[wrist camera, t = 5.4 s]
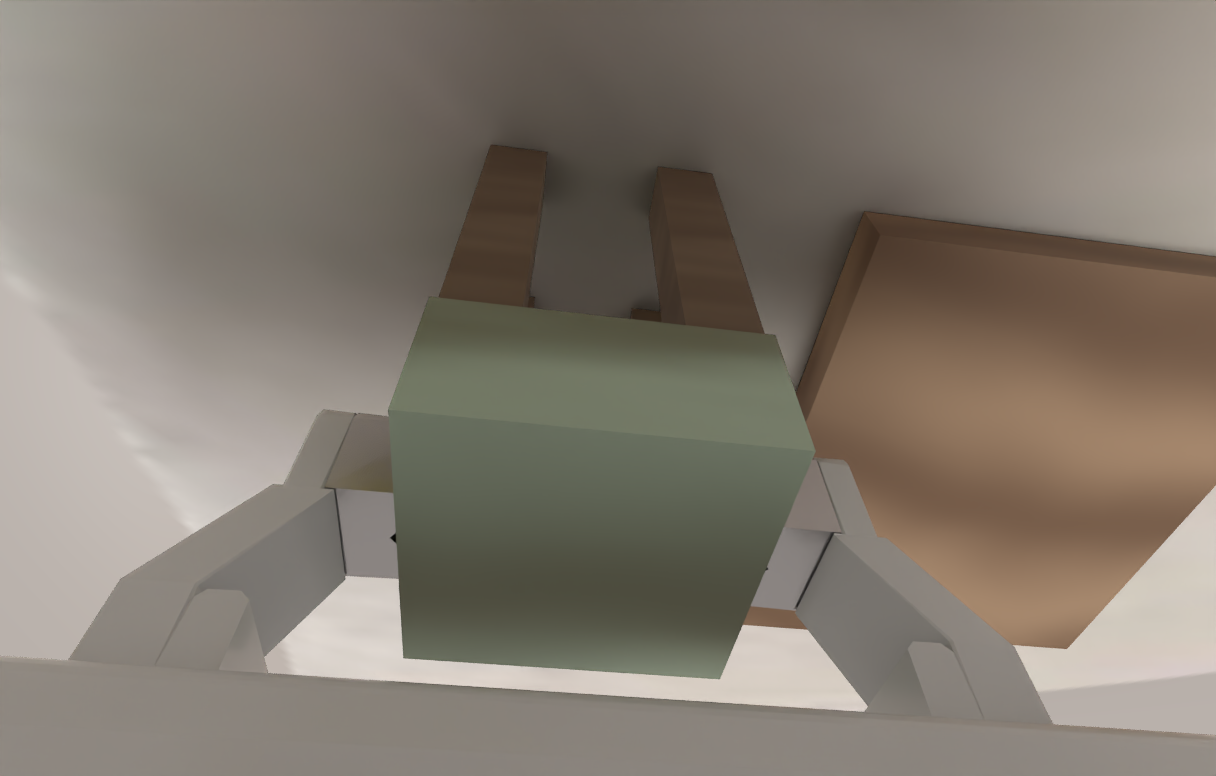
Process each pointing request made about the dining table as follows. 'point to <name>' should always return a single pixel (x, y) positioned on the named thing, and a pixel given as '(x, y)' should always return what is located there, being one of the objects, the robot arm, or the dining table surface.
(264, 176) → the dining table surface
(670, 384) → the stool
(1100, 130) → the dining table surface
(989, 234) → the walnut board
